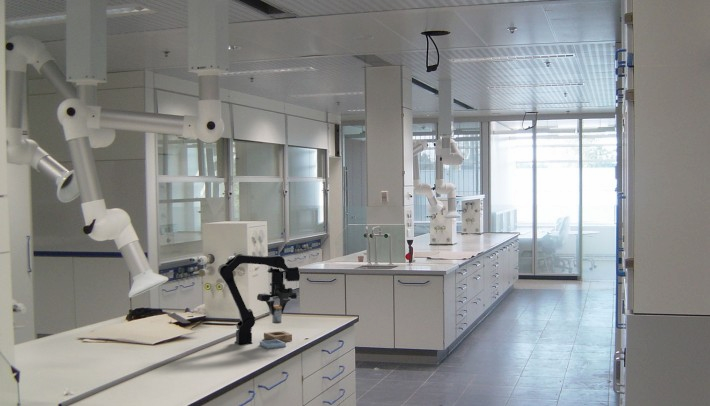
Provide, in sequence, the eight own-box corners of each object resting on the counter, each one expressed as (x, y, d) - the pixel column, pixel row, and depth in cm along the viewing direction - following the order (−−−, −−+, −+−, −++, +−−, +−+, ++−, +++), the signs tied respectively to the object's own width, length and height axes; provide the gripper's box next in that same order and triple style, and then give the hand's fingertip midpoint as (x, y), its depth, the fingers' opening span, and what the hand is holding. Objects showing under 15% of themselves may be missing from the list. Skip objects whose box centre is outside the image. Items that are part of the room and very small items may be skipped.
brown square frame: (273, 343, 345) (273, 336, 345) (263, 339, 354) (263, 332, 354) (291, 340, 351) (291, 334, 351) (282, 336, 359) (282, 330, 359)
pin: (274, 324, 346) (274, 307, 346) (270, 322, 350) (270, 305, 350) (283, 323, 349) (283, 306, 349) (278, 321, 353) (279, 304, 353)
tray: (268, 349, 333) (268, 345, 333) (259, 345, 340) (259, 341, 340) (285, 346, 338) (285, 343, 338) (276, 343, 345) (276, 339, 345)
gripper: (267, 285, 337) (267, 318, 337) (302, 282, 347) (302, 315, 348) (256, 282, 346) (256, 314, 347) (291, 279, 357) (290, 311, 357)
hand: (276, 314), depth 349 cm, fingers closed on pin, 4 cm apart
